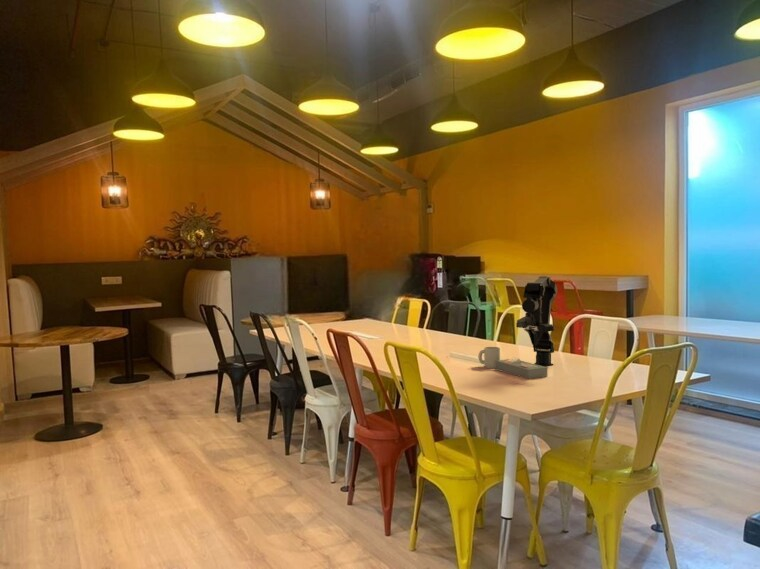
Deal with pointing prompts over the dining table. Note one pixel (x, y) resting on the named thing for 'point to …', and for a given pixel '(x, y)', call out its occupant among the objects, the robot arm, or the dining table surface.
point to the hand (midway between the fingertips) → (534, 345)
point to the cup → (489, 356)
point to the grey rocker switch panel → (521, 369)
